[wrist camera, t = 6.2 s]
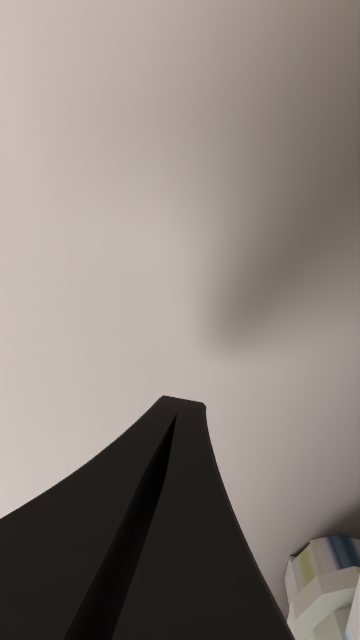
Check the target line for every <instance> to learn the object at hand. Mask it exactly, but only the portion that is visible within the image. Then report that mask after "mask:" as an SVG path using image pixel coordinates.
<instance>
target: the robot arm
mask: <svg viewBox="0 0 360 640" xmlns="http://www.w3.org/2000/svg"><path fill="white" fill-rule="evenodd" d="M0 640H295V638H294V636H293V634H292V632H291V630H290V628H289V626H288V624H287V622H286V620H285V618H284V616H283V614H282V612H281V610H280V609H279V607H278V605H277V603H276V601H275V599H274V597H273V595H272V593H271V591H270V589H269V587H268V585H267V583H266V581H265V579H264V577H263V576H262V574H261V572H260V570H259V567H258V565H257V563H256V561H255V559H254V557H253V554H252V552H251V550H250V548H249V546H248V544H247V541H246V539H245V537H244V535H243V532H242V530H241V528H240V525H239V523H238V521H237V518H236V516H235V513H234V511H233V508H232V506H231V503H230V501H229V498H228V495H227V493H226V490H225V487H224V484H223V481H222V478H221V476H220V472H219V469H218V466H217V463H216V459H215V456H214V452H213V448H212V445H211V441H210V437H209V432H208V426H207V420H206V406H205V405H204V403H202V402H196V401H191V400H186V399H180V398H175V397H169V396H164V395H163V396H162V397H160V398H159V399H158V400H157V401H156V402H155V403H154V404H153V406H152V407H151V408H150V409H149V410H148V411H147V412H146V413H145V414H144V415H142V416H141V417H140V418H139V419H138V420H137V421H136V422H135V423H134V424H133V425H132V426H131V427H130V428H128V429H127V430H126V431H125V432H124V433H123V434H122V435H121V436H120V437H118V438H117V439H116V440H115V441H114V442H112V443H111V444H110V445H109V446H107V447H106V448H105V449H104V450H102V451H101V452H100V453H99V454H98V455H96V456H95V457H94V458H93V459H91V460H90V461H89V462H87V463H86V464H85V465H83V466H82V467H80V468H79V469H78V470H76V471H75V472H74V473H72V474H71V475H69V476H68V477H66V478H65V479H63V480H62V481H60V482H59V483H58V484H56V485H55V486H53V487H52V488H50V489H48V490H47V491H45V492H44V493H42V494H40V495H39V496H37V497H36V498H34V499H32V500H31V501H29V502H28V503H26V504H24V505H23V506H21V507H20V508H18V509H16V510H15V511H13V512H11V513H10V514H8V515H6V516H4V517H3V518H1V519H0Z"/></svg>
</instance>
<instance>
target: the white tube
mask: <svg viewBox="0 0 360 640" xmlns="http://www.w3.org/2000/svg"><path fill="white" fill-rule="evenodd" d="M309 541H310V544H309V545H308V546H307V547H306V548H305V549H304V550H303V551H302V552H301V553H300V554H299V555H298V556H297V557H293V556H289V561H288V566H287V570H286V575H285V580H284V581H285V586H286V592H287V597H288V603H289V608H290V609H289V614H288V618H287V624H288V626H289V628H290V630H291V632H292V634H293V636H294V638H295V640H360V539H355V538H351V537H347V536H342V535H333V536H328V537H322V538H317V539H312V540H309Z"/></svg>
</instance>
